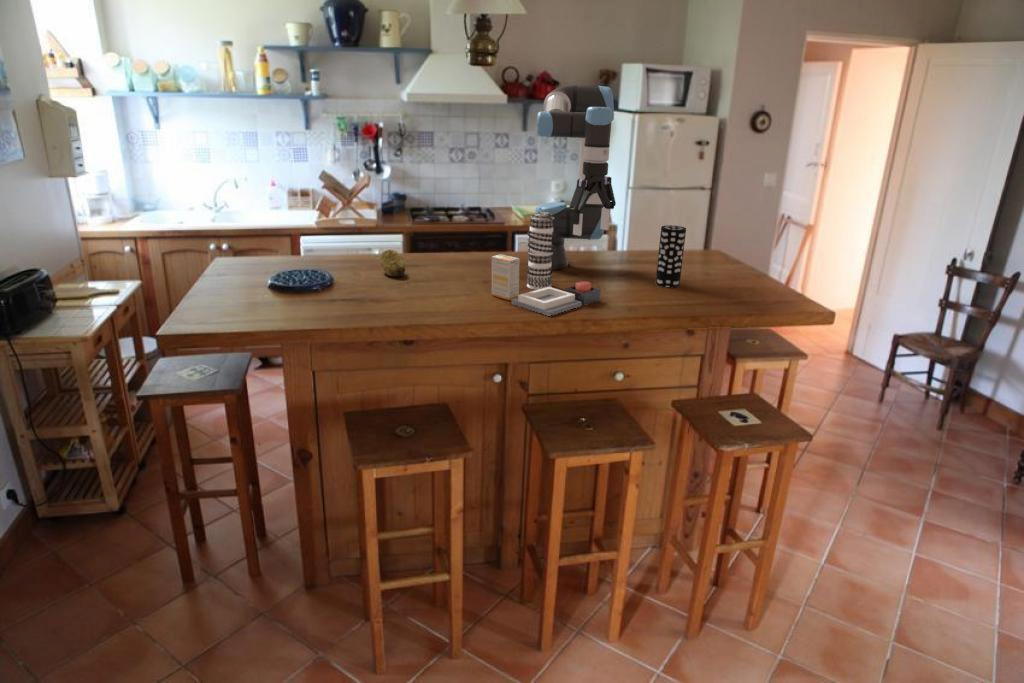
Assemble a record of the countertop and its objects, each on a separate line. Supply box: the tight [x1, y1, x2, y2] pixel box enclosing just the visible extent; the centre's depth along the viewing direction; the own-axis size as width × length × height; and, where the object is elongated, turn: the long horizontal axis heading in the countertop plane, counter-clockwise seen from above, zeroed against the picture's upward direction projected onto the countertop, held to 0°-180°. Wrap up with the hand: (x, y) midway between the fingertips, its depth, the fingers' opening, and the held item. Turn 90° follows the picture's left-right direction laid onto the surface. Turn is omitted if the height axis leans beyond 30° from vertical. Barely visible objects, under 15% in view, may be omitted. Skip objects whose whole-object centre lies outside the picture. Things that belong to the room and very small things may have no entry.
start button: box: [574, 280, 592, 292], centre depth 215 cm, size 5×5×4 cm
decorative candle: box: [526, 211, 555, 291], centre depth 226 cm, size 9×9×25 cm
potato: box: [380, 249, 406, 278], centre depth 239 cm, size 8×13×8 cm, turn 12°
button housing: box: [564, 284, 602, 306], centre depth 215 cm, size 8×8×4 cm
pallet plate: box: [510, 286, 583, 317], centre depth 210 cm, size 16×15×4 cm
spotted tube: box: [655, 224, 687, 289], centre depth 233 cm, size 8×8×20 cm
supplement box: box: [491, 253, 520, 301], centre depth 216 cm, size 8×5×13 cm, turn 47°
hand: (591, 232), depth 209 cm, fingers open, 13 cm apart
